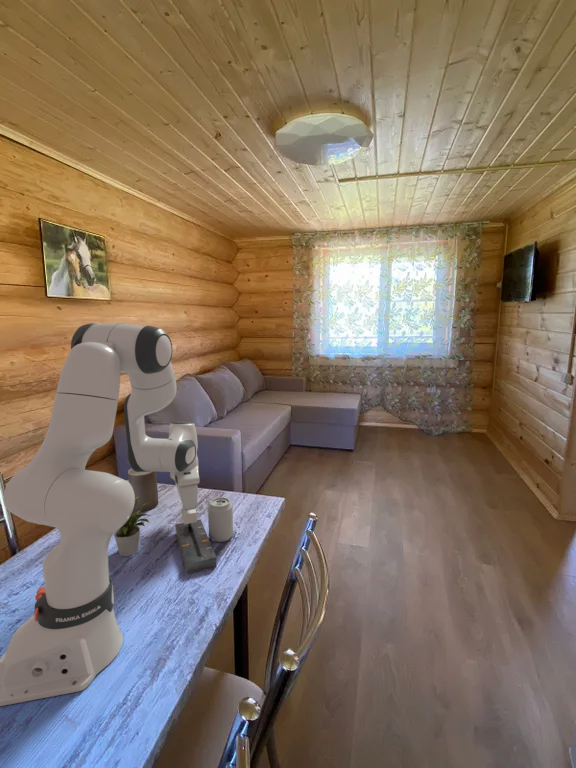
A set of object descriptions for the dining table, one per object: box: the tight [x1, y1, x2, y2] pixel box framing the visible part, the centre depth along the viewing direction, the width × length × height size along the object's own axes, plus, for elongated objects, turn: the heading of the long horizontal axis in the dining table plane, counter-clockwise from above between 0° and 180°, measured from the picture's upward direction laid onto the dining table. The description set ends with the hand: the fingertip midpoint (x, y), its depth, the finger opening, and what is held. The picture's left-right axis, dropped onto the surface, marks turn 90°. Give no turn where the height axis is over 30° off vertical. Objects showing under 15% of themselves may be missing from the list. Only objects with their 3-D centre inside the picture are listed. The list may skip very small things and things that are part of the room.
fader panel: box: [174, 518, 217, 575], centre depth 113 cm, size 8×22×3 cm, turn 24°
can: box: [207, 496, 234, 543], centre depth 119 cm, size 8×8×12 cm
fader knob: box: [181, 508, 198, 527], centre depth 120 cm, size 4×4×5 cm
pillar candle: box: [127, 467, 159, 512], centre depth 139 cm, size 10×10×15 cm
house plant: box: [113, 495, 151, 557], centre depth 110 cm, size 14×14×16 cm
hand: (186, 510), depth 124 cm, fingers closed
